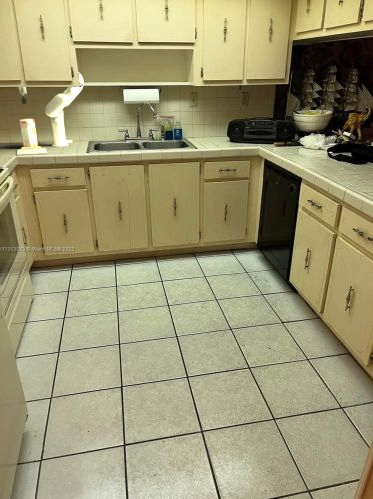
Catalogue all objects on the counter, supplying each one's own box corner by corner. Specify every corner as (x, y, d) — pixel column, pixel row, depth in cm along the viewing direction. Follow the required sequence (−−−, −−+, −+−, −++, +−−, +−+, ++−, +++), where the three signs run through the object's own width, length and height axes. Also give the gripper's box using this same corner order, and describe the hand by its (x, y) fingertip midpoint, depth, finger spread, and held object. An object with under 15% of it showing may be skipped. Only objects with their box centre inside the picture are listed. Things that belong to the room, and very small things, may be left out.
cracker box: (31, 149, 281) (27, 120, 272) (23, 149, 281) (18, 120, 272) (38, 146, 294) (34, 118, 285) (31, 146, 294) (26, 118, 285)
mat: (45, 148, 284) (45, 146, 284) (47, 153, 263) (46, 151, 263) (17, 149, 277) (17, 147, 277) (16, 155, 257) (16, 153, 256)
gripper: (25, 77, 272) (29, 104, 280) (25, 77, 287) (29, 102, 294) (14, 77, 270) (19, 104, 277) (15, 77, 284) (19, 103, 292)
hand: (24, 103), depth 286 cm, fingers open, 5 cm apart
